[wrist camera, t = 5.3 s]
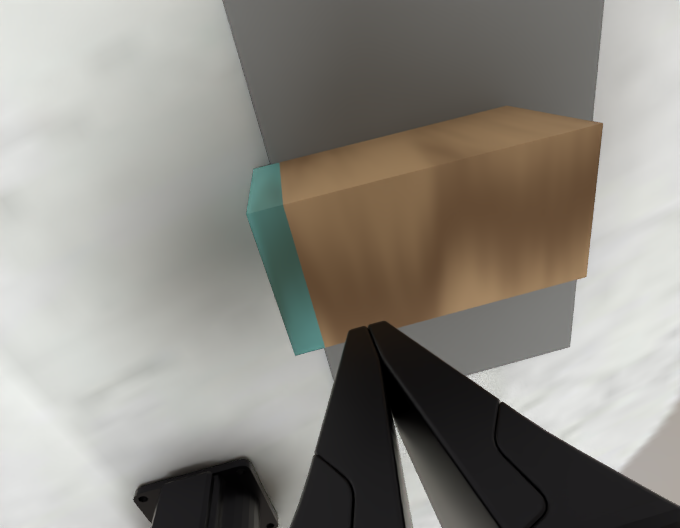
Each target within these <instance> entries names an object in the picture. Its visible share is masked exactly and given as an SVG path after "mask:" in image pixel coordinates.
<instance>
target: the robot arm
mask: <svg viewBox="0 0 680 528" xmlns="http://www.w3.org/2000/svg"><path fill="white" fill-rule="evenodd" d="M393 419H394V421H393ZM394 422H395V425H396V427H397V430H398V432H399V434H400V436H401V439H402V441H403V443H404V445H405V447H406V450H407V452H408V454H409V456H410V458H411V461H412V463H413V465H414V467H415V470H416V472H417V474H418V476H419V478H420V481H421V483H422V485H423V487H424V489H425V492H426V494H427V496H428V498H429V500H430V503H431V505H432V507H433V509H434V511H435V514H436V516H437V518H438V520H439V522H440V525H441V527H442V528H680V506H679V505H677V504H675V503H673V502H671V501H669V500H667V499H665V498H664V497H662V496H659V495H658V494H656V493H655V492H653V491H651V490H649V489H647V488H646V487H644V486H642V485H640V484H639V483H637V482H635V481H633V480H631V479H630V478H628V477H626V476H624V475H623V474H621V473H619V472H617V471H615V470H614V469H612V468H610V467H608V466H606V465H605V464H603V463H601V462H599V461H598V460H596V459H594V458H592V457H590V456H589V455H587V454H585V453H583V452H582V451H580V450H578V449H576V448H575V447H573V446H571V445H569V444H568V443H566V442H564V441H563V440H561V439H559V438H558V437H556V436H554V435H553V434H551V433H549V432H547V431H546V430H544V429H543V428H541V427H540V426H538V425H537V424H535V423H534V422H532V421H530V420H529V419H527V418H526V417H524V416H523V415H521V414H520V413H518V412H517V411H515V410H514V409H513V408H511V407H510V406H508V405H507V404H505V403H504V402H500V400H499V399H498V398H496V397H495V396H494V395H492V394H491V393H489V392H488V391H486V390H485V389H483V388H482V387H481V386H479V385H478V384H476V383H475V382H473V381H472V380H471V379H469V378H468V377H466V376H465V375H463V374H462V373H460V372H459V371H458V370H456V369H455V368H453V367H452V366H450V365H449V364H447V363H446V362H445V361H443V360H442V359H440V358H439V357H437V356H436V355H434V354H433V353H432V352H430V351H429V350H427V349H426V348H424V347H423V346H421V345H420V344H419V343H417V342H416V341H414V340H413V339H411V338H410V337H408V336H407V335H406V334H404V333H403V332H401V331H400V330H398V329H397V328H395V327H394V326H393V325H391V324H390V323H388V322H387V321H380V322H376V323H372V324H369V325H368V328H367V327H366V326H361V327H357V328H354V329H351V330H349V331H348V334H347V338H346V341H345V345H344V348H343V352H342V355H341V359H340V363H339V366H338V370H337V373H336V377H335V380H334V384H333V388H332V391H331V395H330V398H329V402H328V406H327V409H326V413H325V416H324V420H323V423H322V427H321V431H320V434H319V438H318V441H317V445H316V449H315V455H314V456H313V459H312V462H311V466H310V469H309V473H308V476H307V479H306V483H305V486H304V489H303V492H302V495H301V498H300V502H299V504H298V507H297V510H296V512H295V515H294V517H293V520H292V523H291V525H290V528H413V524H412V519H411V513H410V508H409V502H408V496H407V491H406V485H405V480H404V474H403V469H402V463H401V458H400V452H399V446H398V441H397V435H396V430H395V426H394ZM133 500H134V502H135V503H136V505H137V506H138V507H139V508H140V510H141V511H142V512H143V514H144V515H145V516H146V517H147V519H148V520H149V521H150V522H151V527H150V528H277V527H278V516H277V514H276V512H275V510H274V508H273V506H272V504H271V502H270V500H269V498H268V496H267V494H266V492H265V490H264V488H263V486H262V484H261V482H260V480H259V478H258V476H257V474H256V472H255V470H254V468H253V466H252V464H251V462H250V461H248V460H245V459H241V460H236V461H233V462H229V463H226V464H222V465H218V466H215V467H211V468H208V469H204V470H200V471H197V472H193V473H190V474H186V475H182V476H179V477H175V478H172V479H168V480H164V481H161V482H157V483H154V484H150V485H146V486H143V487H140V488H138V489H137V490H136V492H135V495H134V499H133Z"/></svg>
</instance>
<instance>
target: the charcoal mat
mask: <svg viewBox="0 0 680 528" xmlns="http://www.w3.org/2000/svg"><path fill="white" fill-rule="evenodd" d="M223 4H224V7H225V11H226V14H227V17H228V21H229V24H230V28H231V31H232V35H233V38H234V41H235V45H236V48H237V52H238V55H239V59H240V62H241V65H242V69H243V72H244V76H245V79H246V82H247V86H248V89H249V93H250V96H251V100H252V103H253V106H254V110H255V113H256V117H257V120H258V124H259V127H260V130H261V134H262V137H263V141H264V144H265V147H266V151H267V154H268V158H269V161H270V165H271V164H275V163H279V162H283V161H287V160H291V159H295V158H299V157H303V156H307V155H311V154H315V153H319V152H323V151H327V150H331V149H335V148H339V147H343V146H347V145H351V144H355V143H359V142H363V141H367V140H371V139H375V138H379V137H383V136H387V135H391V134H395V133H399V132H403V131H407V130H411V129H415V128H419V127H423V126H427V125H431V124H435V123H439V122H443V121H447V120H451V119H455V118H459V117H463V116H467V115H471V114H475V113H479V112H483V111H487V110H491V109H495V108H499V107H503V106H512V107H517V108H523V109H528V110H534V111H539V112H544V113H550V114H555V115H561V116H566V117H572V118H577V119H582V120H588V121H592V119H593V109H594V99H595V89H596V79H597V69H598V59H599V49H600V39H601V29H602V18H603V8H604V0H223ZM576 281H577V280H573V281H569V282H566V283H562V284H558V285H555V286H551V287H547V288H544V289H540V290H536V291H533V292H529V293H525V294H521V295H518V296H514V297H510V298H507V299H503V300H499V301H496V302H492V303H488V304H485V305H481V306H477V307H473V308H470V309H466V310H462V311H459V312H455V313H451V314H448V315H444V316H440V317H437V318H433V319H429V320H425V321H422V322H418V323H414V324H411V325H407V326H403V327H400V328H397V329H398V330H400V331H401V332H403V333H404V334H406V335H407V336H408V337H410V338H411V339H413V340H414V341H416V342H417V343H419V344H420V345H421V346H423V347H424V348H426V349H427V350H429V351H430V352H432V353H433V354H434V355H436V356H437V357H439V358H440V359H442V360H443V361H445V362H446V363H447V364H449V365H450V366H452V367H453V368H455V369H456V370H458V371H459V372H460V373H462V374H463V375H465V376H466V375H470V374H474V373H477V372H481V371H484V370H488V369H492V368H495V367H499V366H503V365H506V364H510V363H514V362H517V361H521V360H524V359H528V358H532V357H535V356H539V355H543V354H546V353H550V352H554V351H557V350H561V349H564V348H568V347H570V341H571V331H572V321H573V311H574V301H575V291H576ZM344 345H345V342H344V343H340V344H337V345H333V346H329V347H326V348H324V349H325V353H326V356H327V360H328V363H329V366H330V370H331V373H332V377H333V380H335V377H336V373H337V370H338V366H339V363H340V359H341V355H342V352H343V348H344Z"/></svg>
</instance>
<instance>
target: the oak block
mask: <svg viewBox="0 0 680 528" xmlns="http://www.w3.org/2000/svg"><path fill="white" fill-rule="evenodd" d="M602 128H603V123H599V122H593V121H588V120H582V119H577V118H572V117H566V116H561V115H555V114H550V113H544V112H539V111H534V110H528V109H523V108H517V107H512V106H503V107H499V108H495V109H491V110H487V111H483V112H479V113H475V114H471V115H467V116H463V117H459V118H455V119H451V120H447V121H443V122H439V123H435V124H431V125H427V126H423V127H419V128H415V129H411V130H407V131H403V132H399V133H395V134H391V135H387V136H383V137H379V138H375V139H371V140H367V141H363V142H359V143H355V144H351V145H347V146H343V147H339V148H335V149H331V150H327V151H323V152H319V153H315V154H311V155H307V156H303V157H299V158H295V159H291V160H287V161H283V162H279V163H275V164H271V165H267V166H263V167H259V168H255V169H253V175H252V181H251V187H250V193H249V200H248V206H247V212H246V215H247V218H248V221H249V224H250V227H251V230H252V232H253V235H254V238H255V241H256V244H257V247H258V250H259V253H260V256H261V258H262V261H263V264H264V267H265V270H266V273H267V276H268V279H269V281H270V284H271V287H272V290H273V293H274V296H275V299H276V302H277V304H278V307H279V310H280V313H281V316H282V319H283V322H284V325H285V328H286V330H287V333H288V336H289V339H290V342H291V345H292V348H293V351H294V353H295V356H296V355H300V354H304V353H307V352H311V351H315V350H318V349H322V348H326V347H329V346H333V345H337V344H340V343H344V342H345V341H346V338H347V334H348V331H349V330H351V329H354V328H357V327H361V326H366V327H367V328H368V325H369V324H372V323H376V322H380V321H387V322H388V323H390V324H391V325H393V326H394V327H395V328H400V327H403V326H407V325H411V324H414V323H418V322H422V321H425V320H429V319H433V318H437V317H440V316H444V315H448V314H451V313H455V312H459V311H462V310H466V309H470V308H473V307H477V306H481V305H485V304H488V303H492V302H496V301H499V300H503V299H507V298H510V297H514V296H518V295H521V294H525V293H529V292H533V291H536V290H540V289H544V288H547V287H551V286H555V285H558V284H562V283H566V282H569V281H573V280H577V279H581V278H584V277H586V275H587V266H588V257H589V248H590V238H591V229H592V220H593V211H594V202H595V193H596V183H597V174H598V165H599V156H600V147H601V137H602Z"/></svg>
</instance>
